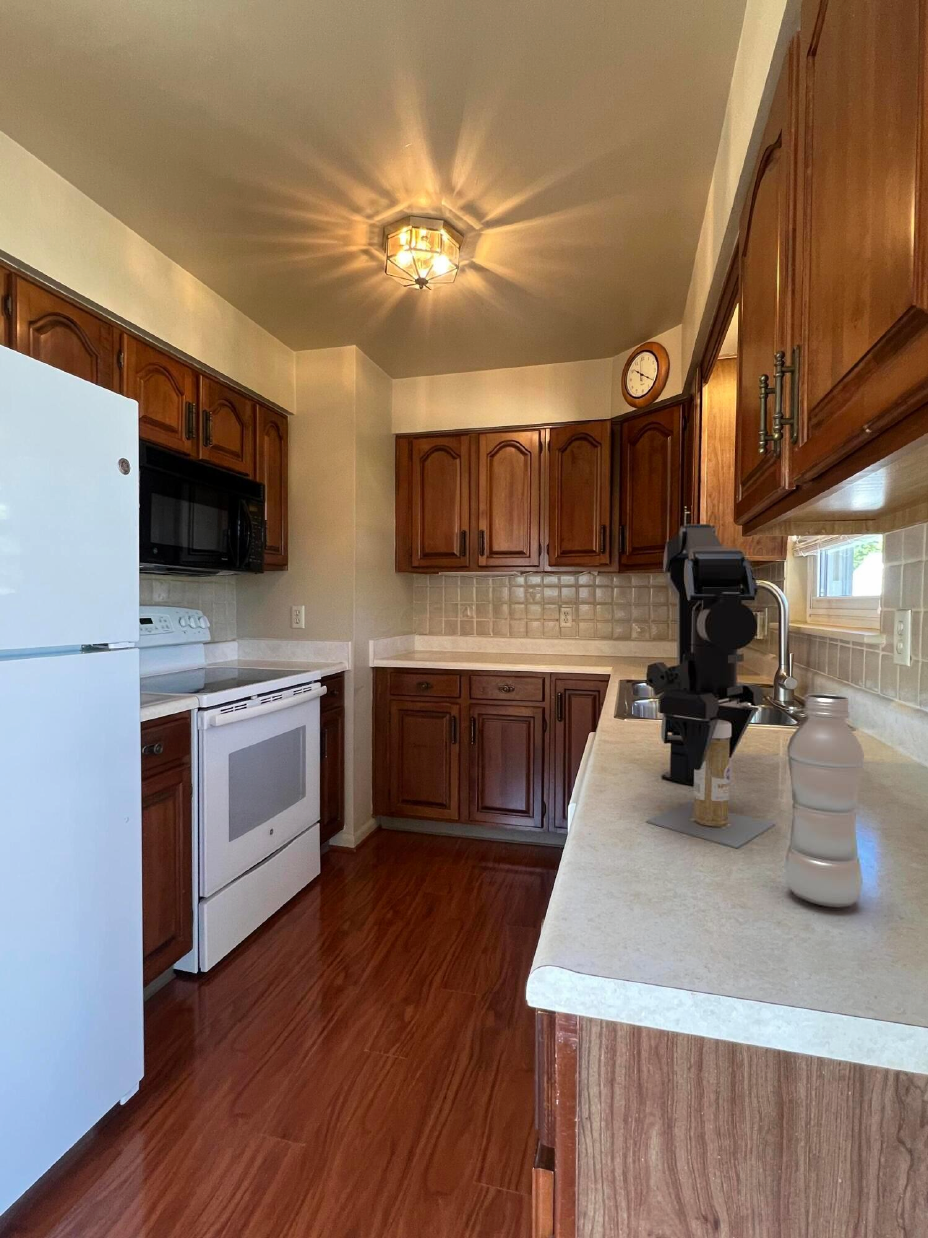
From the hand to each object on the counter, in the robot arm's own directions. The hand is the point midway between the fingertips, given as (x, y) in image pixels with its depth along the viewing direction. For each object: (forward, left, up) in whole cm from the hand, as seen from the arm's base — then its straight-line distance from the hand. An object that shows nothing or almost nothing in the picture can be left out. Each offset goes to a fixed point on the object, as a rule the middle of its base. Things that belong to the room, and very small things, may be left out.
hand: (711, 763), depth 82 cm
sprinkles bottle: (0, 0, -8) cm, 8 cm away
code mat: (0, 0, -8) cm, 8 cm away
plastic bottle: (+13, +17, -8) cm, 23 cm away
